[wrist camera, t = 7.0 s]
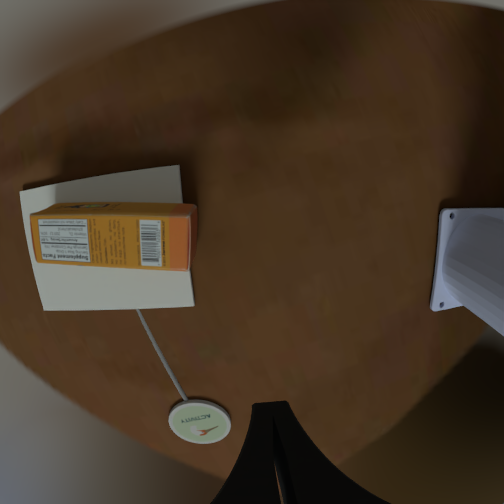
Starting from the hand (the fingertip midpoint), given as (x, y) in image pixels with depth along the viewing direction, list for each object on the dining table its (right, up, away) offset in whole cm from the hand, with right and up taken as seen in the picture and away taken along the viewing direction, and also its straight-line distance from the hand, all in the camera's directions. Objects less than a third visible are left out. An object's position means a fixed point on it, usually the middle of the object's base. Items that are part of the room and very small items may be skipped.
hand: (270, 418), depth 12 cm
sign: (-7, -3, +12) cm, 14 cm away
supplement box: (-4, +7, +6) cm, 10 cm away
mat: (-11, +7, +8) cm, 15 cm away
